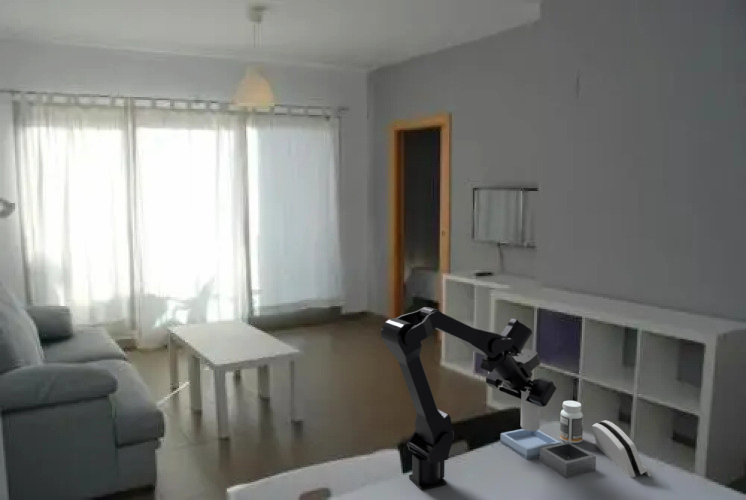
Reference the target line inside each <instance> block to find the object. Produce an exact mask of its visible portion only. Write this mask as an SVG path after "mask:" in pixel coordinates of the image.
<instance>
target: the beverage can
mask: <svg viewBox="0 0 746 500" xmlns="http://www.w3.org/2000/svg"><path fill="white" fill-rule="evenodd" d="M532 385H533V384H532ZM528 396H529V392H528V389H527V390H526V392H521V399H520V427H521V429H524V430H526V431H537V430H540V426H541V423H540V422H541V407H540V406H537V405H535V404H533V403H530V402H528V401H526V399H527V397H528Z"/></svg>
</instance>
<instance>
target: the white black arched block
mask: <svg viewBox="0 0 746 500" xmlns="http://www.w3.org/2000/svg"><path fill="white" fill-rule="evenodd" d="M591 429H592V432H593V436H594V440H595V444H596V448H598V449H599V450H600V451H601V452H602V453H603V454H604V455H605V456H607V457H608V458H609V459H610V460H611V461H612V462H613V463H614V464H615V465H616V466H617V467H618V468H619V469H621V470H622V471H623V472H624V473H625V474H626V475H627V476H628V477H629V478H636V477H637V476H636V475H637V474H639V475H643V474H645V475H647V477H651V472H650V470H649V468H648V467H646V466H645V464H643V463H642V460H641V458H640V455H639V453H638V450H637V447H636V445H635V443H634V442H633V441H632V440H631V438H630V437H629V436H628V435H627V434H626V433H625V432H624V431H623V429H621V428H620V427H619V426H618V425H616V424H614V423H613V422H612V421H609V420H605V419H604V420H601V421H600V422H599V423H598V422H596V423H594V424H593V425H592V426H591Z"/></svg>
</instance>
